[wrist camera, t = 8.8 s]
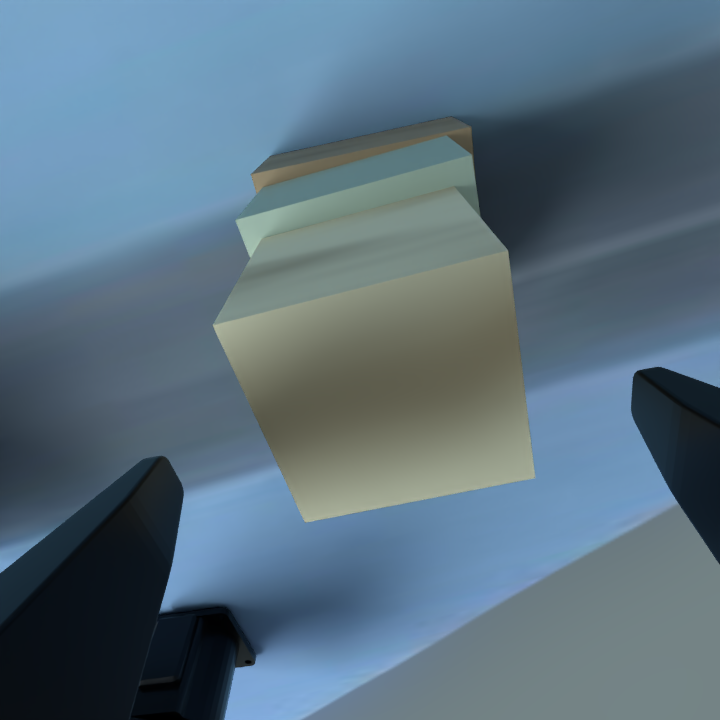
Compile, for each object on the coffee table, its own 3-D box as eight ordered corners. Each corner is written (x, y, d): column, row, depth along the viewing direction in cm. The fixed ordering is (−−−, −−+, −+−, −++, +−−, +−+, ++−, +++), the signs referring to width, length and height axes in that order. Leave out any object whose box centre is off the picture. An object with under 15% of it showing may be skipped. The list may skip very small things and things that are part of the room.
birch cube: (482, 356, 15) (535, 478, 10) (319, 393, 15) (304, 522, 11) (453, 186, 12) (508, 250, 8) (261, 238, 13) (212, 325, 8)
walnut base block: (467, 287, 22) (487, 328, 18) (314, 315, 23) (306, 360, 19) (450, 116, 18) (471, 126, 15) (270, 155, 19) (251, 174, 16)
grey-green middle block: (474, 308, 18) (501, 364, 15) (317, 345, 19) (308, 406, 15) (446, 135, 15) (471, 154, 12) (262, 187, 16) (235, 219, 12)
